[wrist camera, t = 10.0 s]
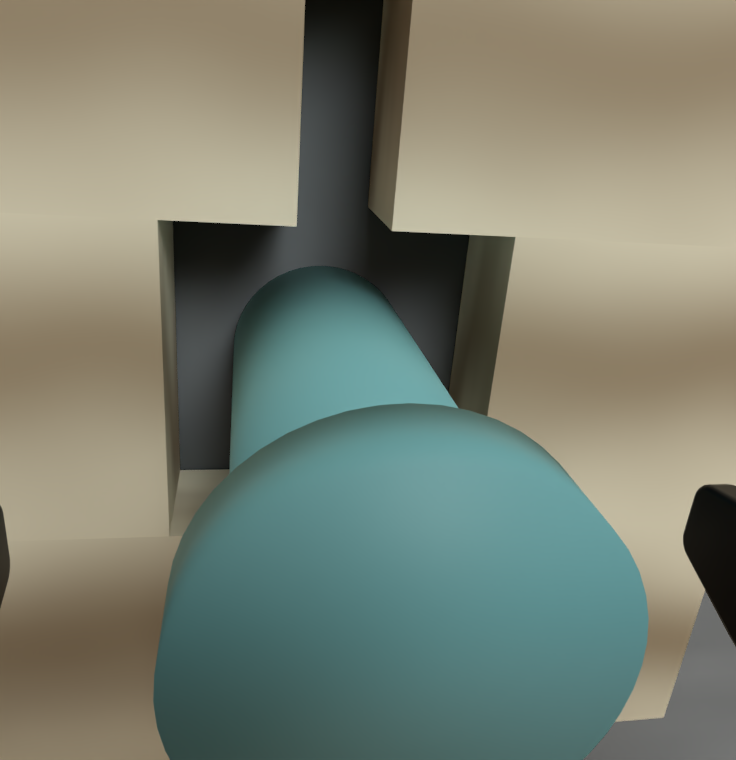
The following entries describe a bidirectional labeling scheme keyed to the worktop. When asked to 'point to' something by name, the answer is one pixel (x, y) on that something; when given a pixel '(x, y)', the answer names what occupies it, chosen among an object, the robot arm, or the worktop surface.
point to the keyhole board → (399, 213)
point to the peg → (386, 563)
